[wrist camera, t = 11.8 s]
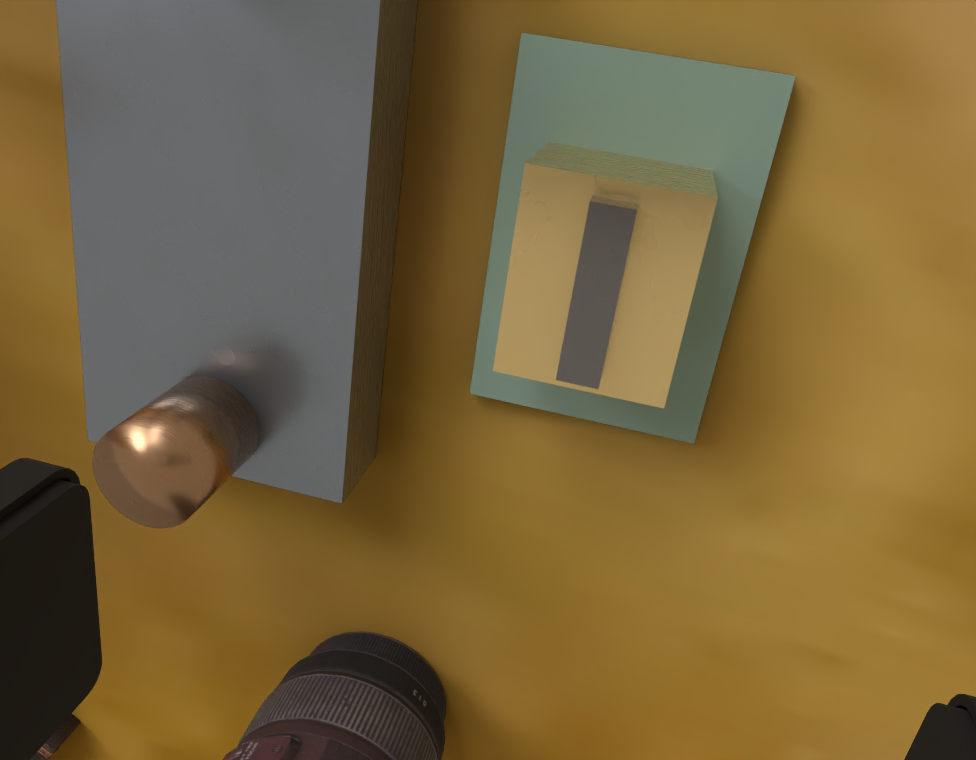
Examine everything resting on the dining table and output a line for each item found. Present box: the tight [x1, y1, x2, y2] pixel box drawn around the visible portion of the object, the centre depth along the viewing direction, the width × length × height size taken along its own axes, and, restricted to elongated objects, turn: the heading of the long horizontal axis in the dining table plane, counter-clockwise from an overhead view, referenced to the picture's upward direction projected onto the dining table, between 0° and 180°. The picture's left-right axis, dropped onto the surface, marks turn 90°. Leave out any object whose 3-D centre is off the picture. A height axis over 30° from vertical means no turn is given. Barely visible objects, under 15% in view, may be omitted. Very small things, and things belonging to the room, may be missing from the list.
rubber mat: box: [470, 33, 796, 444], centre depth 27 cm, size 12×8×1 cm, turn 172°
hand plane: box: [56, 0, 418, 528], centre depth 25 cm, size 20×10×10 cm, turn 172°
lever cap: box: [493, 142, 718, 408], centre depth 24 cm, size 6×5×5 cm
